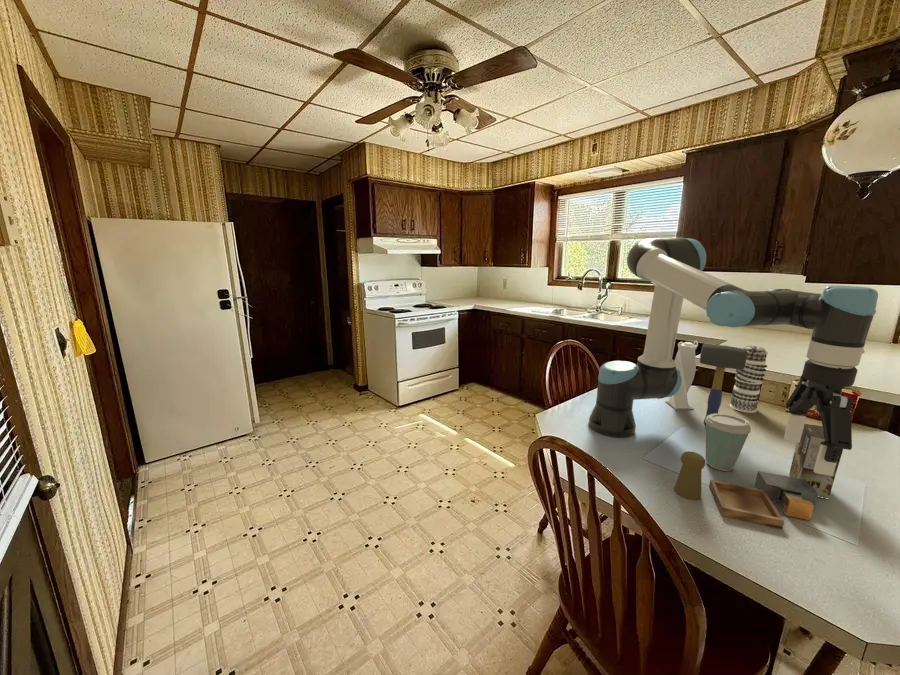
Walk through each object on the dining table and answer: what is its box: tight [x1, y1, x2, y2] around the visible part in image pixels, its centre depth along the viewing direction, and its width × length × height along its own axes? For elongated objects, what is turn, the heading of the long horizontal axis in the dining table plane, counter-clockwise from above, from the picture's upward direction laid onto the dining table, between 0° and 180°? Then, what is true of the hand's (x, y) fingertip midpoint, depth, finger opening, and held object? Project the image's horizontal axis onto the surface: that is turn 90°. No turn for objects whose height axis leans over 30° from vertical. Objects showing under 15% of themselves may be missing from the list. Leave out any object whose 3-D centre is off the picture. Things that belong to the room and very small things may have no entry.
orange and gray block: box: [778, 489, 815, 521], centre depth 91 cm, size 4×12×4 cm, turn 157°
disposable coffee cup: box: [705, 412, 752, 472], centre depth 106 cm, size 11×11×15 cm
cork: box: [673, 451, 706, 501], centre depth 94 cm, size 6×6×11 cm
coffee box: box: [788, 423, 844, 500], centre depth 96 cm, size 9×6×16 cm
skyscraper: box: [665, 340, 699, 411], centre depth 143 cm, size 8×8×28 cm
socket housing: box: [754, 470, 818, 509], centre depth 93 cm, size 10×6×4 cm, turn 67°
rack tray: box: [708, 479, 785, 530], centre depth 90 cm, size 12×12×2 cm
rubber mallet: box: [699, 343, 747, 428], centre depth 126 cm, size 12×8×30 cm, turn 54°
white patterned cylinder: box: [729, 345, 769, 414], centre depth 142 cm, size 9×9×25 cm
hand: (805, 456), depth 80 cm, fingers open, 13 cm apart
